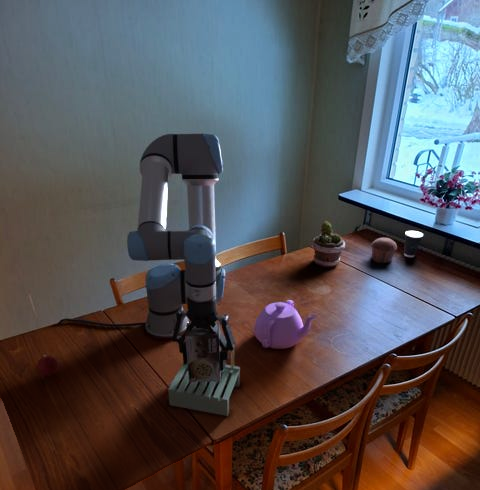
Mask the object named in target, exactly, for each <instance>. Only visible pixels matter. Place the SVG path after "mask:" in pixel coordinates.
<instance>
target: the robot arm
mask: <svg viewBox="0 0 480 490" xmlns="http://www.w3.org/2000/svg"><path fill="white" fill-rule="evenodd" d="M139 160H140V161H139V173H140V175H141V187H140V196H139V209H138V217H137V218H138V219H137V221H138V222H137V230H134V231H129V232H128V234H127V239H126V248H127V254H128V257H129V258H130V259H131V260H133V261H139V262H148V261H149V262H150V261H181V260H183V261H184V269H181V268H180V266H179V265H177V264H174V263H162V264H157V265H156V266H154V267H152V268H150V269H149V270H148V271H147V272H146V274H145V289H146V295H147V296H146V297H147V305H148V312H147V317H146V321H144V322H143V321H142V322H131V323H106V322H100V321H93V320H87V319H81V318H69V317H68V318H62V319H60V320H58V322H57V324H62V323H63V322H76V323H84V324H90V325H91V324H92V325H97V326H103V327H115V328H117V327H136V326H145V331H146V333H147V334H148V336H150V337H151V338H153V339H158V340H171V341H172V342H173V343H177V344H178V349H179V353H180V354H182V364H185V365H186V364H187V350H186V339H185V333H186V326H187V323H190V325H189V327H188V328H187V329H191V330H192V329H193V328H194V326H196V328H204V329H208V330H209V332H210V333H217V331H218V325H217V323H216V322H219V326H221V329H220V328H219V345H220V371H223V370H224V368H225V365H227V364H226V362H227V361H228V359H229V358H230V352H231V351H233V350H234V351H235V347H236V340H235V337H234V335H233V332H232V329H231V326H230V323H229V321H230V316H229V314H225V315H219V313H218V310H217V309H218V307H217V306H218V305H217V304H218V303H220V302H221V301H222V300H223V297H224V293H225V292H224V291H225V283H226V281H225V279H226V269H225V268H222V265H221V262H219V260H218V259H217V245H216V242H217V241H216V208H215V207H216V206H215V202H216V201H215V185H216V183H217V182H218V181H219V175H221V174H223V173H224V167H223V159H222V151H221V146H220V140H219V138H218V136H217V135H215V134H214V133H213V134H212V133H204V132H203V133H202V132H201V133H166V134H163V135H161V136H158V137H157V138H155V139H154V140H152V141H151V143H149V144H148V145H147V146H146V148H145V150H144V151H143V153H142V154H141V158H140V159H139ZM172 175H181V181H182V182H183V183H184V184H185V185H186V190H187V193H186V194H187V215H188V230H187V229H186V230H184V229H183V230H167V223H168V197H169V179H171V177H172ZM183 305H186V306H187V310H184V308H183ZM189 321H190V322H189ZM221 330H222V331H221Z"/></svg>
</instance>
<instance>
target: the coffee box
mask: <svg viewBox="0 0 480 490" xmlns="http://www.w3.org/2000/svg"><path fill="white" fill-rule="evenodd" d="M190 323H191V322H189V323H187V326H186V333H185V340H186V350H187V362H188V375H189V383H191V382H198V383H200V382H207V383H210V382H216V381H221V371H220V351H221V347H220V345H219V329H220V322H219V321H216V323H217V325H218V331H217V333H210V332H209V330H208V329H204V328H196V326H194V328H193V329H192V330H191V329H187V328H188V327H189V325H190Z"/></svg>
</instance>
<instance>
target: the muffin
mask: <svg viewBox="0 0 480 490" xmlns="http://www.w3.org/2000/svg"><path fill="white" fill-rule="evenodd" d="M370 246H371V259H372V261H373V262H376V263H380V264H387V263H388V264H389V263H390V262H391V261H392V260H393V258H394V254H395V252H396V250H398V246H397V243H396V242H395V241H394V240H393V239H391V238H389V237H379V238H376V239H375V240H373V241H372V243H371V245H370Z"/></svg>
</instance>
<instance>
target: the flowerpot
mask: <svg viewBox="0 0 480 490" xmlns="http://www.w3.org/2000/svg"><path fill="white" fill-rule="evenodd" d="M333 229H334V226H333V223H331V222H330V221H329V219H327V220H323V221H322V224H321V225H319V231H320V234H319V235H317V236H315V237H314V238H313V240H312V242H311V243H312V244H311V245H312V248H313V250H314V251H313V252H314V254H313V260H314V262H315V264H316V265H318V266H319V267H322V268H334V267H336V266H337V265H338V264H339V263H340V261H341V255H342V252H343V251H345V247H346V242H345V241H344V239H342V236H340V234H338V233H337V232H335V233H333Z"/></svg>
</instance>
